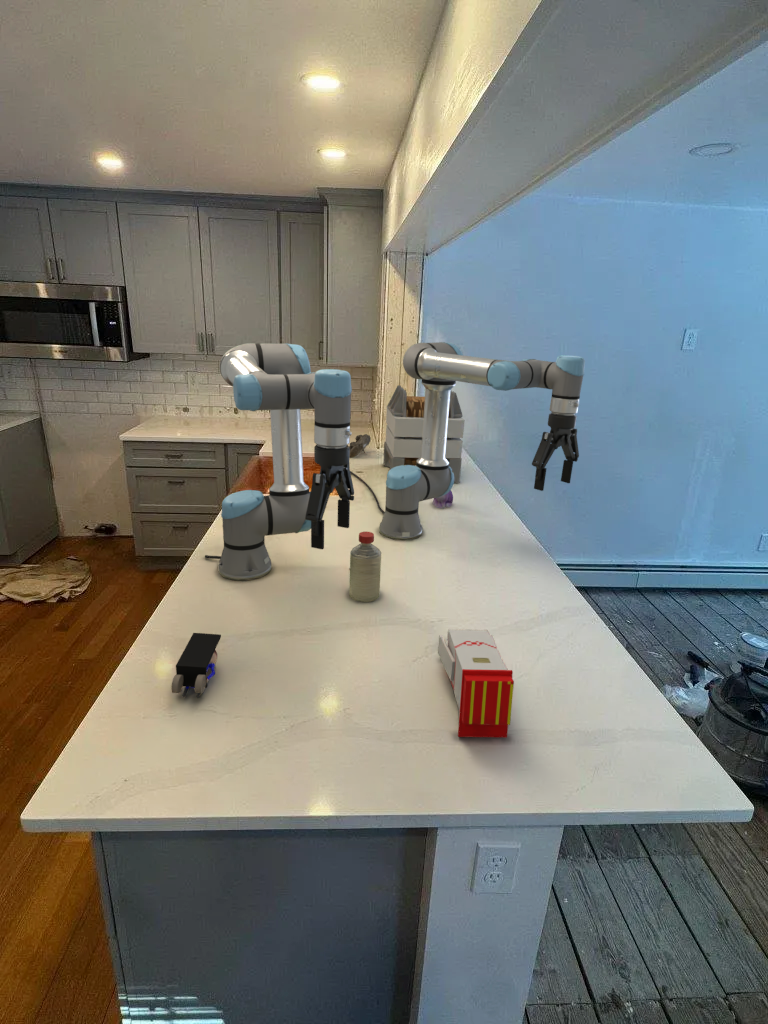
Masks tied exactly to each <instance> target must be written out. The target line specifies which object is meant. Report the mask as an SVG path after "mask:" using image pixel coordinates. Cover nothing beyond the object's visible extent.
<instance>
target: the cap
mask: <svg viewBox="0 0 768 1024" xmlns="http://www.w3.org/2000/svg"><path fill="white" fill-rule="evenodd" d="M374 541H375V533H374V532H372V531H361V532H359V533H358V542H359V543H364V544H370V543H371V544H373V543H374Z"/></svg>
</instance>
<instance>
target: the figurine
mask: <svg viewBox="0 0 768 1024" xmlns="http://www.w3.org/2000/svg"><path fill="white" fill-rule="evenodd" d="M453 501H454V495H453V491H452V489H451V490H450V491H449V492H448V493H447V494H445V495H443V496H441V497H438V498H433V501H432V505H433V506H434V507H435V508H436V509H445V508H450V507H451V506H452V505H453Z"/></svg>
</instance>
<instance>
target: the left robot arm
mask: <svg viewBox="0 0 768 1024" xmlns="http://www.w3.org/2000/svg"><path fill="white" fill-rule="evenodd" d="M311 369H312V368H311V364H310V359H309V356H308V354H307V351H306V349H304V347H303V346H302V345H300V344H294V343H255V342H249V343H248V342H247V343H242V344H239V345H236V346H233V347H232V348H229V350H227V351H226V352H225V353H224V354H223V355H222V357H221V359H220V362H219V372H220V375H221V377H222V379H223V380H224V381H225V382H226V383H227V384H228V385H230V386H231V387H233V388H232V390H233V391H232V392H233V393H232V394H233V401H234V405H235V408H237V409H238V410H239V411H250V412H256V411H269V414H270V415H269V416H270V432H271V433H270V434H271V451H272V453H271V454H272V471H273V484H272V485H271V486H270V487H269V489H268V491H269V495H264V494H263V492H262V491H261V490H257V489H254V490H253V489H246V490H240V491H239V490H238V491H236V492H233V493H231V494H229V495H227V496H225V498H224V499H223V500H222V502H221V513H220V514H221V516H220V517H221V519H222V541H223V548H222V551H221V554H220V555H207V554H205V555H204V558H205V559H210V560H219V562H218V573H219V574H220V576H221V577H223V578H225V579H228V580H232V581H251V580H257V579H260V578H262V577H265V576H267V575H268V574H269V573H270V572H271V571H272V567H273V566H272V559H271V558H270V557H271V556H270V555H269V552H268V550H267V547H266V543H265V542H266V541H265V537H266V536H267V537H268V536H276V535H285V534H287V535H288V534H299V533H303V532H308V531H310V548H312V549H318V550H324V549H325V519H323V518H324V515H325V511H326V508H327V505H328V501H329V499H330V495H331V494H332V493H334V490H335V491H336V493H337V495H338V497H339V499H337V525H336V526H337V527H339V528H345V529H349V528H350V514H351V513H350V506H351V501H355V496H354V495H355V488H354V484H353V480H352V479H353V478H352V474H351V473H350V471H351V469H350V458H351V457H350V447H349V446H350V443H351V441H350V440H351V436H352V431H351V413H352V412H351V410H352V409H351V406H352V391H353V387H352V376H351V373H350V372H349V371H347V370H342V369H336V368H333V369H332V368H331V369H330V368H325V369H318V370H316V371H315V372H314V371H313V372H312V371H311ZM301 410H314V423H313V424H314V426H313V427H314V429H313V430H314V431H313V432H314V434H313V435H314V436H313V442H314V444H315V446H314V448H313V449H314V450H313V451H314V453H313V454H314V456H313V458H314V463H315V464H317V465H319V466H320V470H319V473H317V472H313V473H312V480H311V483H312V484H311V487H310V486H309V485H308V484H307V483H306V482H305V481H304V480H305V479H304V463H303V462H304V460H303V458H304V457H303V440H302V439H303V437H302V436H303V435H302V418H301V417H302V416H301V415H302V413H301Z"/></svg>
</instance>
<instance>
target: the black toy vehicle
mask: <svg viewBox="0 0 768 1024" xmlns="http://www.w3.org/2000/svg"><path fill="white" fill-rule="evenodd" d="M221 638H222V634H217V633H204V632H203V633H202V632H193V633H192V635H191V636H190V638H189V640H188V642H187V643H186V646H185V648H184V649H183V651H182V653H181V655H180V656H179V658H178V660H177V662H176V664H175V674H174V676H173V678H172V681H171V685H170V686H171V687H170V688H171V689H170V690H171V693H172V694H180V693H181V692H182V693H181V696H182V698H186V697H187V696H188V693H189V690H190V688H191V689H194V693H195V694H196V698H197V699H198V698H200V697H201V695H202V694H203V693H204V692H205V689H207V688H208V683H209V681H210V680H211V678H212V677H213V676H214V675H216V670H215V667H216V663H217V661H218V652H217V650H216V649H217V647H218V645H219V642H220V640H221ZM209 669H210V671H211V672H210V673H209V674H208V671H209ZM183 687H184V690H183ZM182 690H183V691H182Z"/></svg>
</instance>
